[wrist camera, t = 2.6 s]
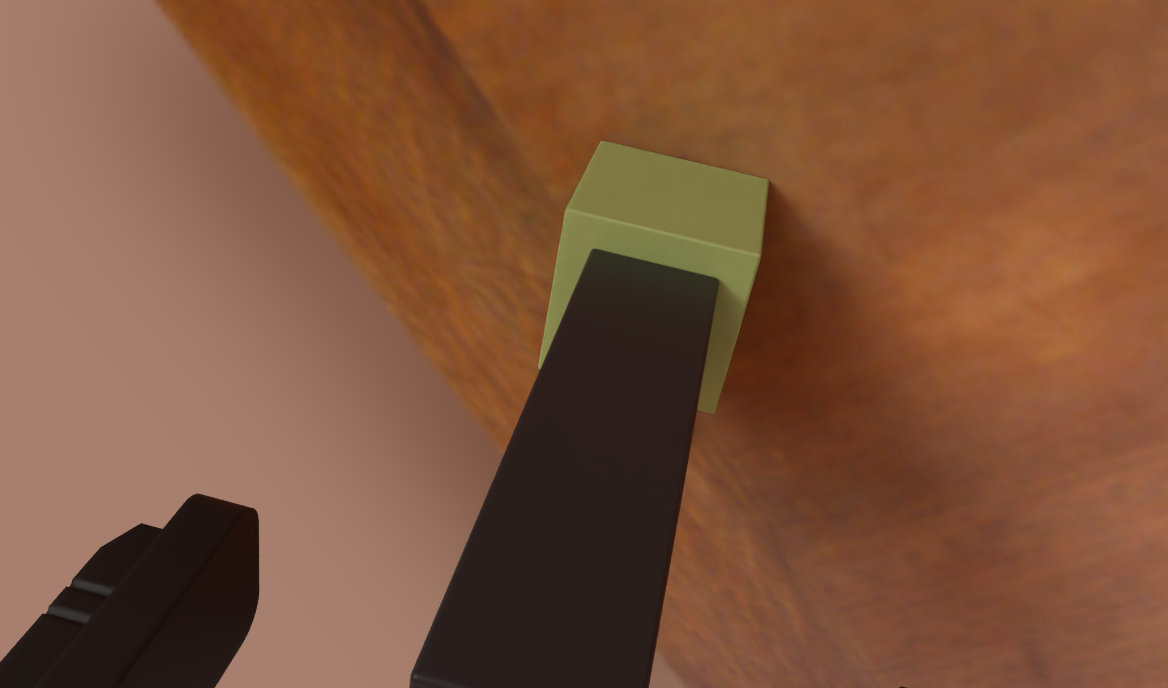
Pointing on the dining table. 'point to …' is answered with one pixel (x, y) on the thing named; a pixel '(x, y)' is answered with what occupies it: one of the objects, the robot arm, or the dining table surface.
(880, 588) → the dining table surface
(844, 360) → the dining table surface
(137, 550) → the robot arm
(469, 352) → the dining table surface
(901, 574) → the dining table surface
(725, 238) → the brush
